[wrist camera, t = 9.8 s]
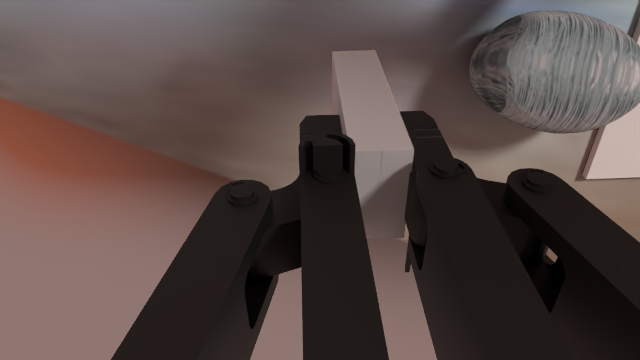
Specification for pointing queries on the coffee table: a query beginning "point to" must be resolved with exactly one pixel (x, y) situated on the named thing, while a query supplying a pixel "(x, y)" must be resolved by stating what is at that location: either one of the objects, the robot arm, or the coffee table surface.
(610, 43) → the grey streaked egg shape
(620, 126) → the board
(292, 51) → the coffee table surface
